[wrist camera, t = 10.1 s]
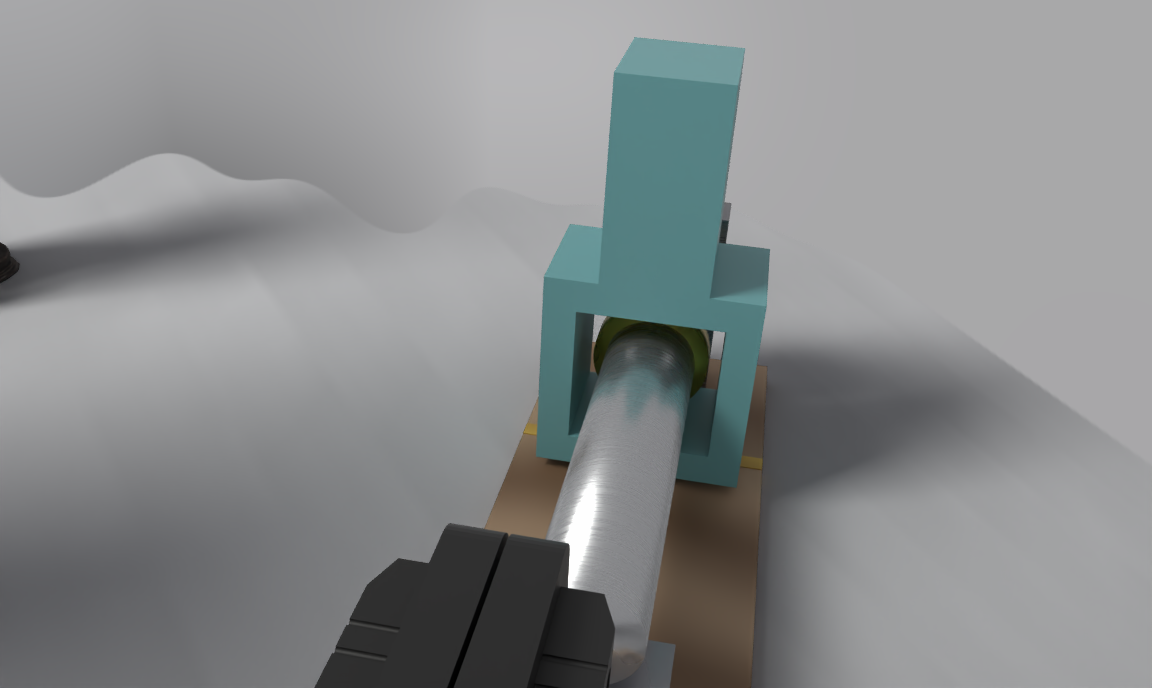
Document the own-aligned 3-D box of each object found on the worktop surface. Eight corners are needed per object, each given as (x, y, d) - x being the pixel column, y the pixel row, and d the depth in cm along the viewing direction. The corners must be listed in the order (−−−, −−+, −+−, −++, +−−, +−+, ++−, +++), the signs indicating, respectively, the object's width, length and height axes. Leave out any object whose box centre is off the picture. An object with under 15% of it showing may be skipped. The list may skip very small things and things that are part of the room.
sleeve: (736, 487, 32) (802, 92, 26) (535, 456, 33) (553, 65, 27) (742, 418, 36) (801, 54, 30) (560, 391, 37) (580, 31, 30)
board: (740, 841, 23) (744, 823, 23) (393, 771, 24) (391, 753, 24) (765, 380, 40) (767, 365, 40) (561, 351, 41) (562, 337, 41)
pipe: (657, 771, 24) (690, 541, 20) (487, 738, 24) (491, 508, 21) (713, 372, 39) (737, 204, 36) (608, 357, 40) (622, 190, 36)
